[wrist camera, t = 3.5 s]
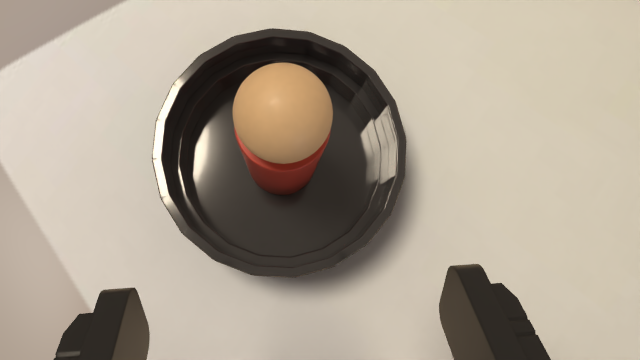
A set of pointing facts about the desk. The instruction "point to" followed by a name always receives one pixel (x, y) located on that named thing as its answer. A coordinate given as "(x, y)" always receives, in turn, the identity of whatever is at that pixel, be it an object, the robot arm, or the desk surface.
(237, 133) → the doll
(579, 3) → the desk surface
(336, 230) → the pan
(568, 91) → the desk surface
